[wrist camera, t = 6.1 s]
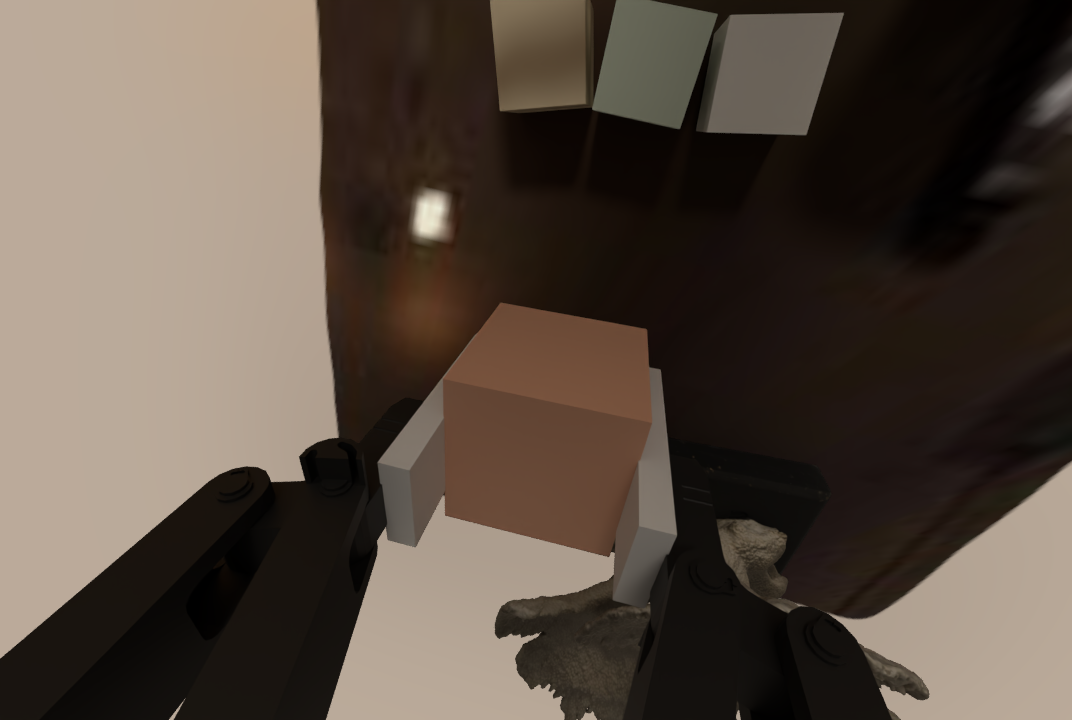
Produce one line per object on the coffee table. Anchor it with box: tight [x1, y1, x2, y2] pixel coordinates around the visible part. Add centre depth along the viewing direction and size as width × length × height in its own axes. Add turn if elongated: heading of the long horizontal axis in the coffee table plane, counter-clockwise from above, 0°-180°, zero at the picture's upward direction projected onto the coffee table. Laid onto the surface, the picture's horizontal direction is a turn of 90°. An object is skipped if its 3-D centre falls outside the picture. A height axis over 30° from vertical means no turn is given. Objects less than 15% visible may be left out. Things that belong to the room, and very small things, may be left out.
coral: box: [495, 438, 929, 720], centre depth 31 cm, size 25×20×22 cm
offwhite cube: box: [696, 13, 844, 135], centre depth 23 cm, size 5×5×5 cm
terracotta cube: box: [443, 303, 652, 557], centre depth 13 cm, size 5×5×5 cm
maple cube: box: [490, 0, 594, 113], centre depth 24 cm, size 5×5×5 cm
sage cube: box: [592, 0, 718, 129], centre depth 24 cm, size 5×5×5 cm
